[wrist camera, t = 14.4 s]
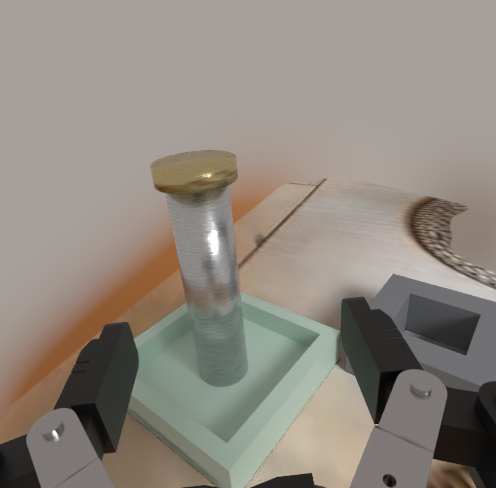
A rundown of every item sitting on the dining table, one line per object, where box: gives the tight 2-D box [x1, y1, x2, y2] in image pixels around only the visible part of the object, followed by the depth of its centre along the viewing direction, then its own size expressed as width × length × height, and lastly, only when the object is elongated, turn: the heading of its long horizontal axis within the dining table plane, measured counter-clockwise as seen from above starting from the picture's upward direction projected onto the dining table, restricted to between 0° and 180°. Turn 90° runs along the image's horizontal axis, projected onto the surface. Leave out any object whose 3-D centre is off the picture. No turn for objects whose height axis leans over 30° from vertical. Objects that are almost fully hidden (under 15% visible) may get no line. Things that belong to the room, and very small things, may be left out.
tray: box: [127, 291, 341, 488], centre depth 30 cm, size 14×14×3 cm
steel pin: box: [150, 150, 248, 387], centre depth 26 cm, size 5×5×17 cm
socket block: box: [345, 274, 496, 392], centre depth 30 cm, size 10×10×4 cm
